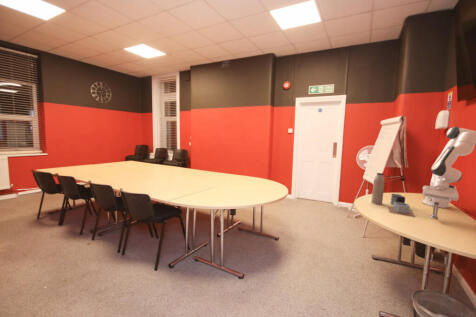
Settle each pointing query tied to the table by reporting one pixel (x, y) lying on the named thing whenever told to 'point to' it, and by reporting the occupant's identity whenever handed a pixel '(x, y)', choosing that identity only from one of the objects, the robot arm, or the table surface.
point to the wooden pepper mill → (378, 189)
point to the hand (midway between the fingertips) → (439, 202)
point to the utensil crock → (401, 207)
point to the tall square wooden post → (434, 211)
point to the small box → (397, 199)
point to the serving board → (401, 213)
